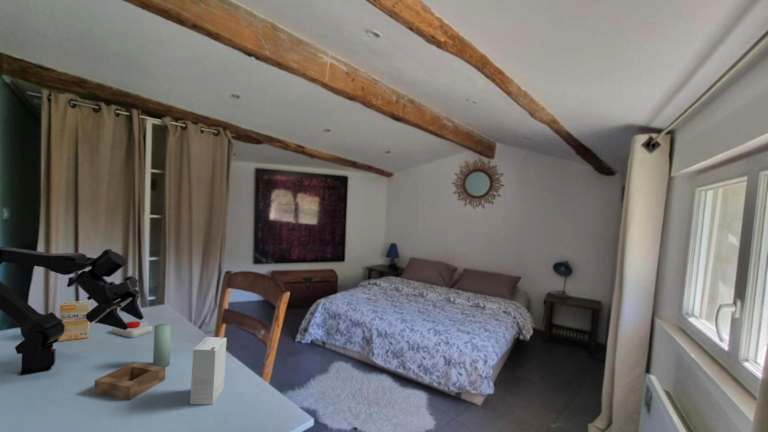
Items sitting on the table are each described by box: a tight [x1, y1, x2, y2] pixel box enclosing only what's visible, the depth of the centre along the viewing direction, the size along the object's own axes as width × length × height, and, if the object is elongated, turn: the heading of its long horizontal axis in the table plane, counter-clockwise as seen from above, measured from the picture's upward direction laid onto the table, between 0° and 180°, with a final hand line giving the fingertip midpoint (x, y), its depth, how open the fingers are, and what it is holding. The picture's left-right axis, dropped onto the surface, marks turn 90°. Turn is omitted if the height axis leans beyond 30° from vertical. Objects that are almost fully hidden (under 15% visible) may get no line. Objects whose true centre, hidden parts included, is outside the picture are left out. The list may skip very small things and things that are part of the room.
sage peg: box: [152, 323, 172, 369], centre depth 109 cm, size 4×4×12 cm
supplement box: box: [57, 299, 92, 343], centre depth 126 cm, size 8×5×13 cm, turn 123°
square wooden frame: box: [93, 362, 166, 401], centre depth 96 cm, size 11×11×4 cm
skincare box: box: [189, 336, 227, 405], centre depth 93 cm, size 8×6×15 cm
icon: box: [111, 320, 154, 339], centre depth 135 cm, size 12×4×10 cm
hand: (135, 323), depth 108 cm, fingers open, 9 cm apart
